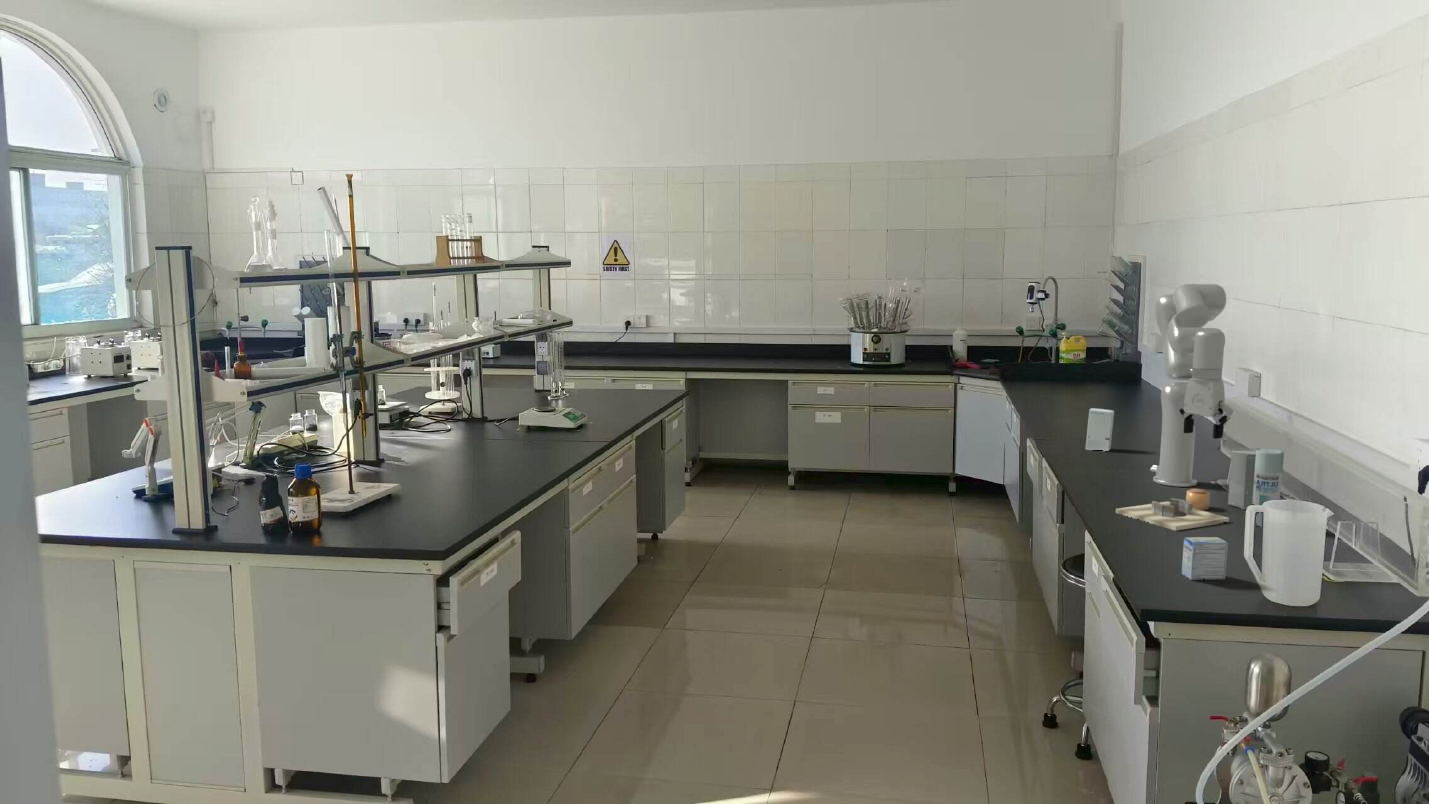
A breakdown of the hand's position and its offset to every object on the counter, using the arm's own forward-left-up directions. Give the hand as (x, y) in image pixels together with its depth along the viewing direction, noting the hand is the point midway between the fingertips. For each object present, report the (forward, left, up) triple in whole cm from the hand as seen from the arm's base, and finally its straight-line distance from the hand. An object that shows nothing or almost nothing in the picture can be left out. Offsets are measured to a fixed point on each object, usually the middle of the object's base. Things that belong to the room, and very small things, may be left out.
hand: (1202, 435), depth 291 cm
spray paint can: (+21, 0, -21) cm, 29 cm away
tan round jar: (0, 0, -21) cm, 21 cm away
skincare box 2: (+5, +14, -21) cm, 26 cm away
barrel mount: (+5, -16, -21) cm, 27 cm away
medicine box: (+45, -52, -21) cm, 72 cm away
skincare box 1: (-75, +39, -21) cm, 87 cm away
